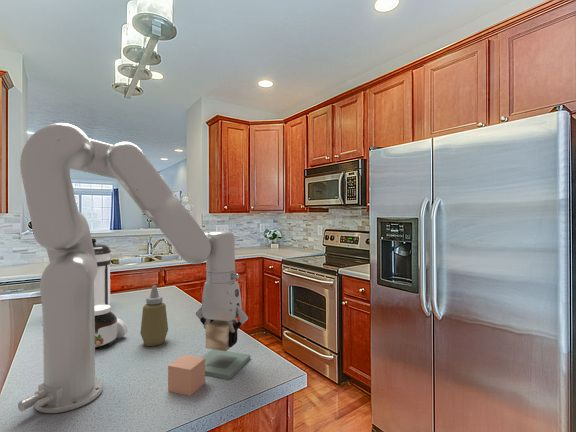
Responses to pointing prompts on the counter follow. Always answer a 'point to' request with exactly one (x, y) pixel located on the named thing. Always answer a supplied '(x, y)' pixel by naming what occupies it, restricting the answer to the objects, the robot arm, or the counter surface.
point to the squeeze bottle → (154, 320)
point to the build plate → (224, 363)
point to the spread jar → (107, 326)
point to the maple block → (217, 335)
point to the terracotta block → (186, 374)
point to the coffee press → (102, 274)
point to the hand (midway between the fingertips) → (221, 342)
